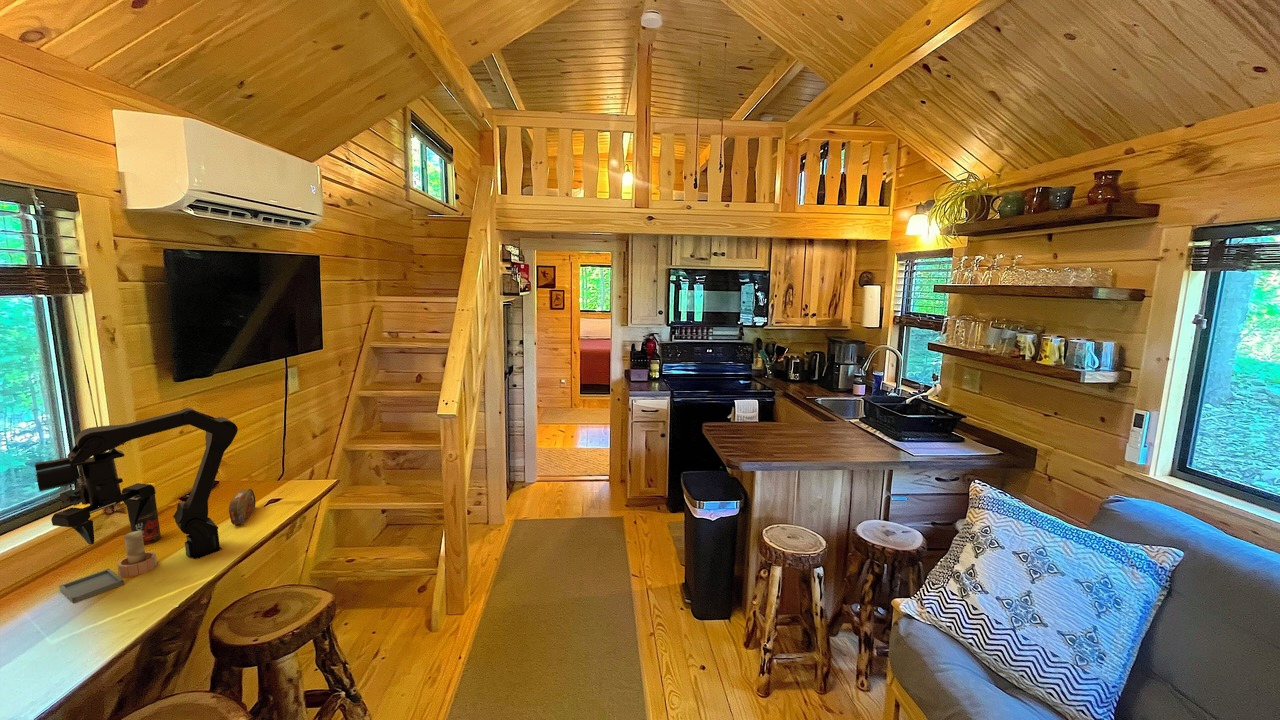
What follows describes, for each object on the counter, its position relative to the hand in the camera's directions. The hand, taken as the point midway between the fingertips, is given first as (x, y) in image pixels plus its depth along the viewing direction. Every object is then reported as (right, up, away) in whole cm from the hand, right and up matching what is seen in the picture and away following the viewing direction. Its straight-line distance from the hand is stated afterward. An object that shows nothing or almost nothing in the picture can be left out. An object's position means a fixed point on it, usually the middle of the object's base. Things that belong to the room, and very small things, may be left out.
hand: (113, 534), depth 131 cm
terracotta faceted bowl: (+1, -12, +6) cm, 13 cm away
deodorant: (-11, -10, +20) cm, 25 cm away
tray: (-3, -13, -2) cm, 14 cm away
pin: (+1, -11, +6) cm, 13 cm away
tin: (+5, -7, +36) cm, 37 cm away
